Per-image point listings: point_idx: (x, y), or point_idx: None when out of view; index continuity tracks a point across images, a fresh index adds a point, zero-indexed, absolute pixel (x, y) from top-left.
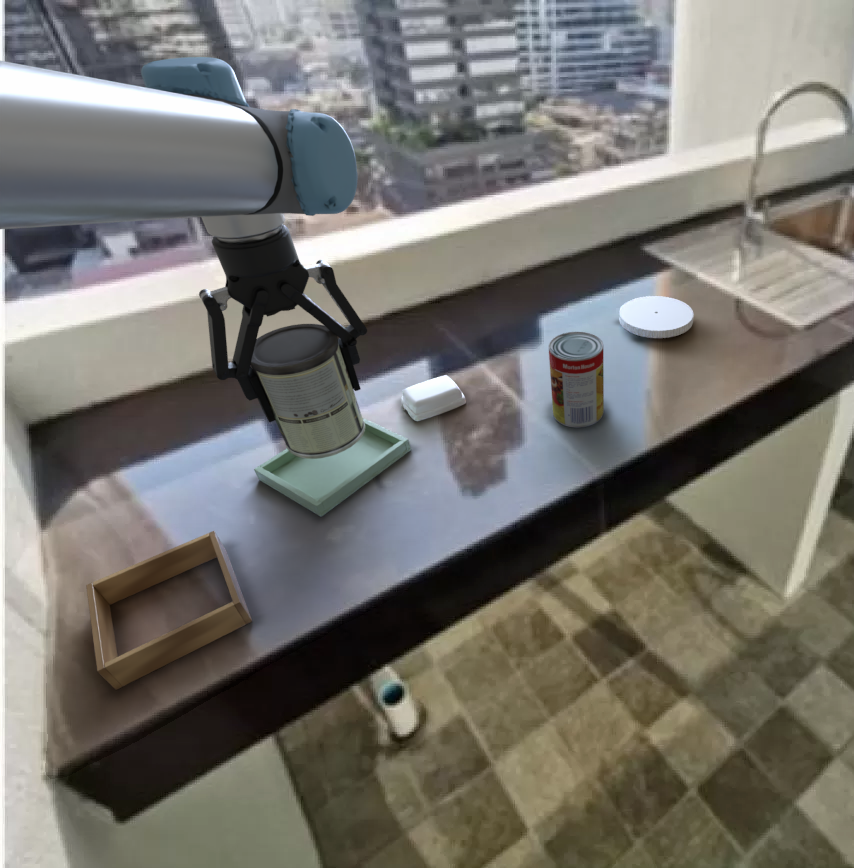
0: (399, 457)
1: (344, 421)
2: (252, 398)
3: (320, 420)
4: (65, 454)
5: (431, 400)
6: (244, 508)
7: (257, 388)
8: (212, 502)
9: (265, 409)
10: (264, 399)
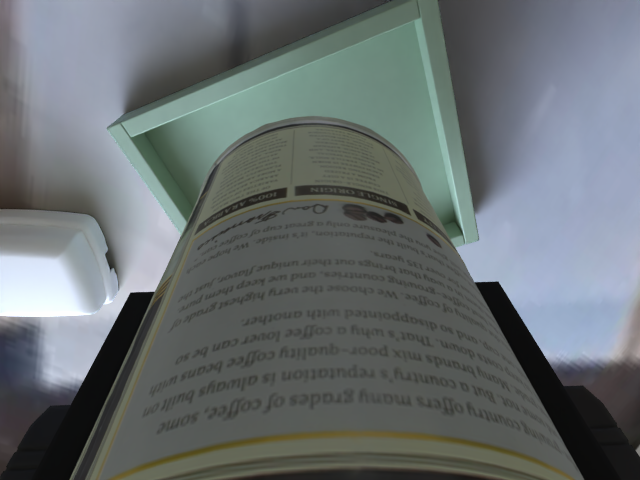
0: (159, 100)
1: (246, 172)
2: (570, 391)
3: (339, 185)
4: (631, 420)
5: (15, 243)
6: (535, 151)
7: (578, 433)
8: (566, 209)
9: (518, 327)
10: (529, 367)
